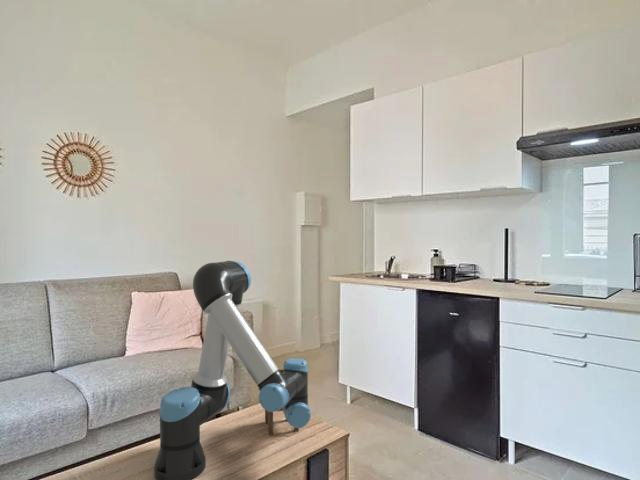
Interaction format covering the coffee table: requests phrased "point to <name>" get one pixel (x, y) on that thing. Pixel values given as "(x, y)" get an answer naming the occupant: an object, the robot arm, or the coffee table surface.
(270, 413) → the stool
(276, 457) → the coffee table surface
